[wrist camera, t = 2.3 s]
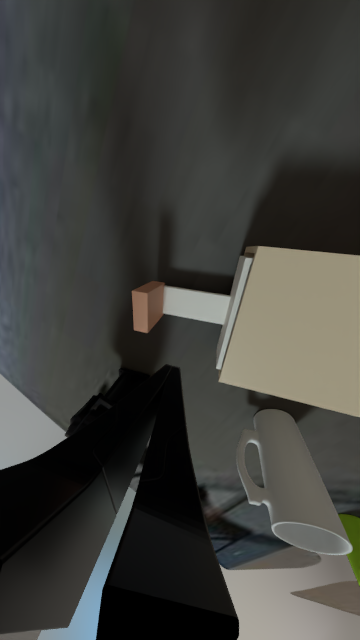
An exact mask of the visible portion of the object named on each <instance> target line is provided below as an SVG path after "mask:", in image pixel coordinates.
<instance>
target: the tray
mask: <svg viewBox="0 0 360 640" xmlns="http://www.w3.org/2000/svg"><path fill="white" fill-rule="evenodd" d="M253 258H254V257H248V256H240V257H239V261H238V265H237V269H236V273H235V277H234V281H233V285H232V289H231V293H230V295H224V294H218V293H211V292H205V291H198V290H192V289H185V288H179V287H172V286H166V285H165V283H163V282H156V281H151V282H149V283H147V284H145V285H143V286H141V287H139V288H137V289H135V290H132V303H133V322H134V330H135V331H140V332H144V333H148V332H149V331H150V330H151V329H152V328H153V326H154V325H155V324H156V323H157V322H158V321H159V319H160V318H161V317H162V316H163V313H164V314H169V315H175V316H180V317H185V318H191V319H196V320H201V321H207V322H212V323H217V324H223V325H222V329H221V333H220V337H219V341H218V345H217V357H216V369H222V365H223V362H224V359H225V355H226V352H227V348H228V345H229V341H230V338H231V334H232V331H233V327H234V324H235V320H236V317H237V314H238V310H239V307H240V303H241V300H242V296H243V293H244V289H245V286H246V282H247V279H248V276H249V272H250V269H251V265H252V262H253Z"/></svg>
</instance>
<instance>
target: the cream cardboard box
mask: <svg viewBox="0 0 360 640" xmlns="http://www.w3.org/2000/svg"><path fill="white" fill-rule="evenodd" d="M244 256H248V257H254V258H253V262H252V265H251V269H250V272H249V276H248V279H247V282H246V286H245V289H244V293H243V296H242V300H241V303H240V307H239V310H238V314H237V317H236V320H235V324H234V327H233V331H232V334H231V338H230V341H229V345H228V348H227V352H226V355H225V359H224V362H223V365H222V369H219V382H222V383H226V384H230V385H234V386H238V387H242V388H246V389H250V390H254V391H258V392H262V393H266V394H270V395H274V396H278V397H282V398H286V399H289V400H293V401H297V402H301V403H305V404H309V405H313V406H317V407H321V408H325V409H329V410H333V411H337V412H341V413H345V414H349V415H353V416H357V417H360V256H358V255H347V254H337V253H327V252H316V251H306V250H295V249H285V248H275V247H264V246H250V247H246V249H245V253H244Z"/></svg>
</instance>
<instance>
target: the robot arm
mask: <svg viewBox="0 0 360 640" xmlns="http://www.w3.org/2000/svg"><path fill="white" fill-rule="evenodd" d="M151 434H152V435H151ZM65 436H66V437H67V438H66V439H65V440H63V441H62V442H60V443H59V444H57V445H56V446H54V447H53V448H51V449H50V450H48V451H46V452H44V453H43V454H41V455H39V456H37V457H35V458H33V459H30V460H28V461H26V462H23V463H20V464H17V465H14V466H11V467H8V468H5V469H2V470H0V640H37V639H38V636H39V634H40V632H41V630H48V629H58V628H67V627H68V626H69V624H70V622H71V619H72V617H73V615H74V613H75V610H76V608H77V606H78V603H79V601H80V599H81V596H82V594H83V592H84V589H85V587H86V585H87V582H88V580H89V578H90V575H91V573H92V571H93V568H94V566H95V564H96V561H97V559H98V557H99V555H100V552H101V550H102V547H103V545H104V543H105V541H106V538H107V536H108V534H109V531H110V529H111V527H112V524H113V522H114V519H115V517H116V514H117V513H118V510H119V508H120V506H121V503H122V501H123V499H124V496H125V494H126V491H127V489H128V487H129V485H130V482H131V480H132V478H133V475H134V473H135V471H136V469H137V466H138V464H139V462H140V459H141V457H142V455H143V452H144V450H145V448H146V445H147V443H148V441H149V438H150V436H151V439H150V442H149V446H148V450H147V454H146V457H145V461H144V465H143V469H142V473H141V476H140V480H139V484H138V488H137V491H136V495H135V498H134V502H133V505H132V509H131V511H130V514H129V517H128V520H127V523H126V525H125V528H124V531H123V534H122V537H121V539H120V542H119V545H118V548H117V551H116V553H115V556H114V559H113V562H112V565H111V567H110V570H109V573H108V576H107V579H106V581H105V584H104V587H103V590H102V597H101V605H100V613H99V621H98V628H97V636H96V640H237V638H238V636H239V620H238V617H237V614H236V611H235V609H234V606H233V603H232V600H231V597H230V594H229V591H228V588H227V585H226V582H225V580H224V577H223V574H222V571H221V568H220V565H219V562H218V559H217V556H216V554H215V551H214V548H213V545H212V542H211V538H210V535H209V532H208V528H207V524H206V520H205V517H204V512H203V508H202V504H201V499H200V495H199V491H198V486H197V482H196V477H195V473H194V468H193V464H192V459H191V454H190V449H189V442H188V434H187V426H186V417H185V408H184V399H183V390H182V381H181V372H180V367H176V366H172V365H168V364H166V365H164V366H163V367H162V368H161V369H159V370H158V371H157V372H156V373H154V374H153V375H152V376H149V375H146V374H142V373H138V372H135V371H131V370H127V369H123V368H120V369H119V378H118V379H117V380H116V381H115V383H114V384H113V385H112V386H111V388H110V389H109V390H108V391H107V393H106V394H105V395H103V394H102V393H99V394H98V395H97V396H95V395H93V396H92V398H91V399H90V400H89V401H88V402H87V403H86V404H85V405H84V406H83V407H82V408H81V409H80V410H79V411H78V412H77V413H76V414H75V415H74V416H73V417H72V418H71V420H70V426H69V428H68V431H67V432H66V434H65Z"/></svg>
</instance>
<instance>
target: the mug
mask: <svg viewBox="0 0 360 640" xmlns="http://www.w3.org/2000/svg"><path fill="white" fill-rule="evenodd" d="M254 426H255V430H254V431H252V430H248V429H243V431H242V434H241V437H240V440H239V443H238V446H237V452H236V461H237V468H238V472H239V475H240V478H241V481H242V483H243V486H244V488H245V491H246V493H247V496H248V500H249V503H250V504H255V505H258V506H259V505H260V504H261V503H265V504H266V505H267V506H268V509H269V514H270V519H271V525H272V531H273V532H274V533H275V535H277V536H278V537H279V538H281V539H282V540H284V541H286V542H288V543H290V544H292V545H294V546H297V547H299V548H302V549H305V550H309V551H312V552H317V553H322V554H330V555H344V554H348V553H350V552H352V550H353V547H352V545H351V543H350V541H349V539H348V536H347V534H346V532H345V529H344V527H343V525H342V522H341V520H340V518H339V516H338V514H337V511H336V509H335V507H334V505H333V503H332V501H331V498H330V496H329V494H328V492H327V490H326V488H325V485H324V483H323V481H322V479H321V477H320V475H319V472H318V470H317V468H316V466H315V464H314V461H313V459H312V457H311V455H310V453H309V451H308V448H307V446H306V444H305V442H304V440H303V437H302V435H301V433H300V431H299V429H298V427H297V425H296V423H295V420H294V419H293V417H292V416H291V415H290V414H288V413H286V412H284V411H282V410H278V409H265V410H261V411H259V412H258V413H256V414H255V416H254ZM249 442H251V443H254V444H256V445H257V446H258V450H259V456H260V462H261V468H262V474H263V480H264V486H265V488H260V487H258V486H256V485H255V484H254V483H253V481H252V480H251V478H250V477H249V475H248V473H247V470H246V467H245V462H244V451H245V447H246V445H247V444H248V443H249Z"/></svg>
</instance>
